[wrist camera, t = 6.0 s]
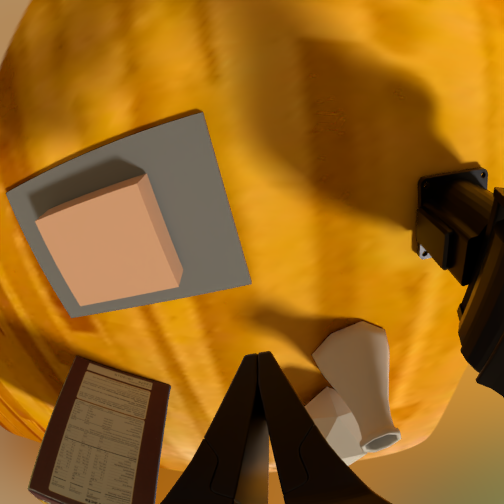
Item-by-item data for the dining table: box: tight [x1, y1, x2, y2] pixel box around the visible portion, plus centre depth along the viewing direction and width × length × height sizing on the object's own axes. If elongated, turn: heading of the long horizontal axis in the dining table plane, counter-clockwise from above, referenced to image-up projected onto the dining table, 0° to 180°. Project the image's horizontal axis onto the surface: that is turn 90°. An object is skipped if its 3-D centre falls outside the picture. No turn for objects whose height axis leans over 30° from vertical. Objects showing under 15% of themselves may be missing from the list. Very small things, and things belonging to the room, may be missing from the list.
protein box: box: [28, 356, 171, 504], centre depth 25 cm, size 10×15×16 cm
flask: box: [312, 321, 401, 452], centre depth 23 cm, size 7×7×10 cm
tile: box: [35, 173, 183, 306], centre depth 19 cm, size 2×7×8 cm
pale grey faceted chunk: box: [304, 387, 367, 466], centre depth 28 cm, size 8×9×10 cm
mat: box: [6, 112, 251, 318], centre depth 20 cm, size 16×12×1 cm
